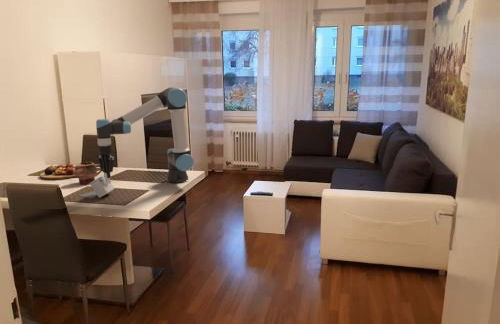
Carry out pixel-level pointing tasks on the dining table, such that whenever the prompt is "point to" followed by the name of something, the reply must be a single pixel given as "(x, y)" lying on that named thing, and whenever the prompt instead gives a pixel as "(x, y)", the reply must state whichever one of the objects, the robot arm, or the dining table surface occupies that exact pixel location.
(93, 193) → the mat
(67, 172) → the wooden plate with food
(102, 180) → the light bulb box
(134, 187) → the dining table surface
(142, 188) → the dining table surface
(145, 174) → the dining table surface
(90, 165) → the brown rounded vessel
